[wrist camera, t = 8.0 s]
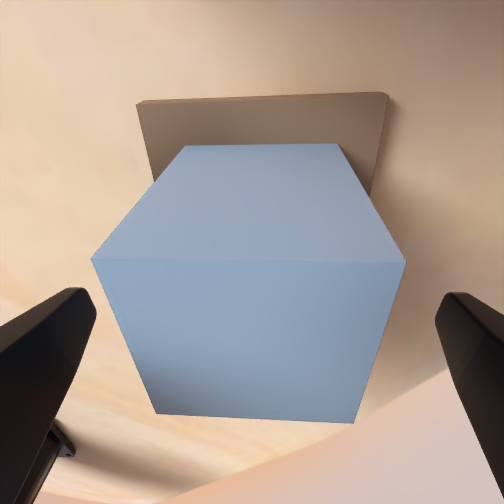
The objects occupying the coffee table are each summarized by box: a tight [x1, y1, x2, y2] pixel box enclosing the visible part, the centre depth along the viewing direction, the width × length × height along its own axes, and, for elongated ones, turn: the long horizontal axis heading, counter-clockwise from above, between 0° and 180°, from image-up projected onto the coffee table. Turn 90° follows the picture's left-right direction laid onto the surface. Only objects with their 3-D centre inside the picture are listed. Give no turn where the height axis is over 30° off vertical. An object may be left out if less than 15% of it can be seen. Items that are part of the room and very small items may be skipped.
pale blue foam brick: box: [91, 143, 407, 424], centre depth 9 cm, size 5×5×7 cm
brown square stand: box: [136, 92, 389, 197], centre depth 10 cm, size 8×8×6 cm
